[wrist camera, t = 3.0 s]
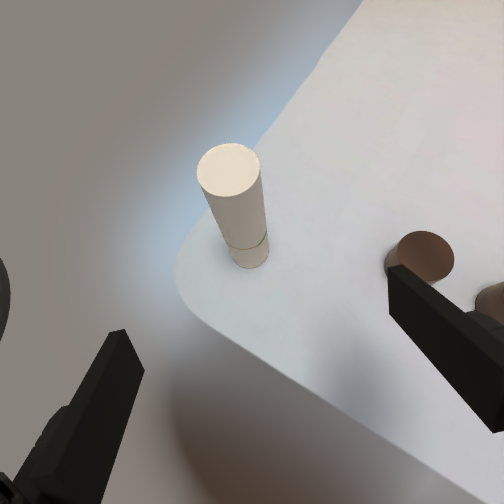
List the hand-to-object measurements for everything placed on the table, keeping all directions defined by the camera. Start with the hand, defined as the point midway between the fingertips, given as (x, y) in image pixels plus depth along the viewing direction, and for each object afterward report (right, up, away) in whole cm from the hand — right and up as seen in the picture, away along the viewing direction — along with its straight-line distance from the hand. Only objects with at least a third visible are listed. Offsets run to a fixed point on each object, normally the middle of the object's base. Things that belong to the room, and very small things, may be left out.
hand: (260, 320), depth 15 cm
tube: (-1, +4, +19) cm, 20 cm away
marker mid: (+16, +2, +17) cm, 23 cm away
